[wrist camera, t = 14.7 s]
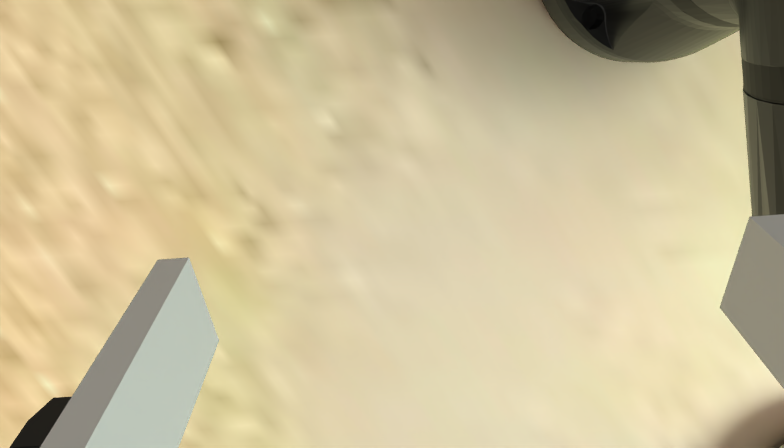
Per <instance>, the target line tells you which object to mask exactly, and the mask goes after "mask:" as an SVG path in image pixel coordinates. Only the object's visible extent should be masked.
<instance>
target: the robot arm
mask: <svg viewBox="0 0 784 448" xmlns="http://www.w3.org/2000/svg"><path fill="white" fill-rule="evenodd" d="M542 1H543V3H544V5H545V7H546V9H547V11H548V12H549V14H550V16H551V17H552V19H553V20H554V22H555V23H556V24H557V25H558V27H559V28H560V29H561V30H562V31H563V32H564V33H565V34H566V35H567V36H568V37H569V38H570V39H571V40H572V41H573V42H575V43H576V44H577V45H579V46H580V47H582V48H583V49H585V50H587V51H589V52H591V53H593V54H595V55H597V56H600V57H603V58H606V59H610V60H615V61H622V62H647V63H649V62H662V61H668V60H673V59H677V58H681V57H684V56H687V55H690V54H693V53H695V52H698V51H700V50H702V49H704V48H706V47H708V46H710V45H712V44H714V43H716V42H718V41H720V40H722V39H724V38H726V37H727V36H729V35H731V34H733V33H735V32H737V31H739V30H740V44H741V57H742V70H743V83H744V85H743V97H744V110H745V124H746V138H747V152H748V166H749V180H750V194H751V208H752V217H749V220H748V223H747V226H746V229H745V232H744V235H743V238H742V241H741V244H740V247H739V250H738V254H737V257H736V260H735V263H734V266H733V269H732V272H731V275H730V278H729V281H728V284H727V287H726V290H725V293H724V296H723V299H722V302H721V305H720V309H721V310H722V311H723V312H724V314H725V315H726V316H727V317H728V319H729V320H730V321H731V322H732V324H733V325H734V326H735V328H736V329H737V330H738V331H739V333H740V334H741V335H742V336H743V338H744V339H745V340H746V341H747V343H748V344H749V345H750V347H751V348H752V349H753V350H754V352H755V353H756V354H757V355H758V357H759V358H760V359H761V361H762V362H763V363H764V364H765V366H766V367H767V368H768V369H769V371H770V372H771V373H772V374H773V376H774V377H775V378H776V380H777V381H778V382H779V383H780V385H781V386H782V387H783V388H784V0H542ZM218 342H219V339H218V336H217V333H216V331H215V328H214V325H213V322H212V320H211V317H210V314H209V311H208V309H207V306H206V303H205V300H204V298H203V295H202V292H201V289H200V287H199V284H198V281H197V278H196V276H195V273H194V270H193V267H192V265H191V262H190V259H189V258H176V259H162V260H157V262H156V263H155V265H154V267H153V268H152V270H151V271H150V273H149V275H148V276H147V278H146V279H145V281H144V283H143V284H142V286H141V287H140V289H139V291H138V292H137V294H136V295H135V297H134V298H133V300H132V302H131V303H130V305H129V306H128V308H127V310H126V311H125V313H124V314H123V316H122V318H121V319H120V321H119V322H118V324H117V326H116V327H115V329H114V330H113V332H112V334H111V335H110V337H109V338H108V340H107V341H106V343H105V345H104V346H103V348H102V349H101V351H100V353H99V354H98V356H97V357H96V359H95V361H94V362H93V364H92V365H91V367H90V369H89V370H88V372H87V373H86V375H85V377H84V378H83V380H82V381H81V383H80V384H79V386H78V388H77V389H76V391H75V392H74V394H73V396H72V397H60V398H53V399H52V400H50V401H49V402H48V403H47V404H46V405H45V406H44V407H43V408H42V409H40V410H39V411H38V412H37V413H36V414H35V415H34V416H33V417H32V418H31V419H29V420H28V421H27V423H26V424H25V426H24V427H23V429H22V430H21V432H20V433H19V435H18V436H17V437H16V439H15V440H14V442H13V443H12V445H11V446H10V448H178V447H179V445H180V442H181V439H182V437H183V434H184V431H185V429H186V426H187V423H188V421H189V418H190V416H191V413H192V410H193V408H194V405H195V402H196V400H197V397H198V395H199V392H200V389H201V387H202V384H203V381H204V379H205V376H206V373H207V371H208V368H209V366H210V363H211V360H212V358H213V355H214V352H215V350H216V347H217V344H218Z"/></svg>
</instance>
